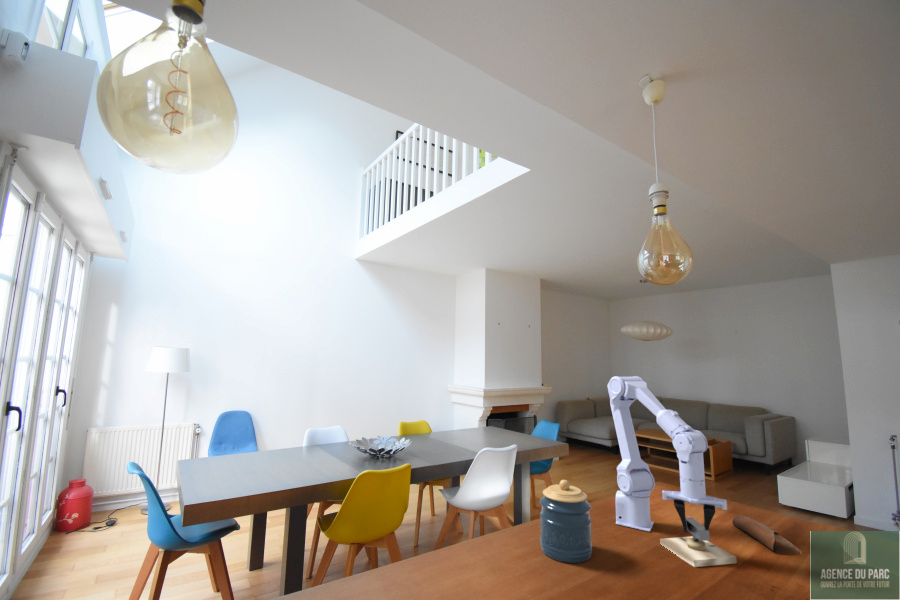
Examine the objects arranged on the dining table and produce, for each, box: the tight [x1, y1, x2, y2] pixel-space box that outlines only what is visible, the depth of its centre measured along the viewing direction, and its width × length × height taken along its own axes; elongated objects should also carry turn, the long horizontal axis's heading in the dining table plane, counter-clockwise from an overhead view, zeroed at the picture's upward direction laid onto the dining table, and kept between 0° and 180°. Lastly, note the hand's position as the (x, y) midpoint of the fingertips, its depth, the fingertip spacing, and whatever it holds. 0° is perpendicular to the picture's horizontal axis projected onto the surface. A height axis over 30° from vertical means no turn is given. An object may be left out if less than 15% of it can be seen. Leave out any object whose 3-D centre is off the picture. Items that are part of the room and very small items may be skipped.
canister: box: [539, 479, 593, 564], centre depth 107 cm, size 13×13×18 cm
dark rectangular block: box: [681, 515, 711, 542], centre depth 107 cm, size 2×9×4 cm, turn 175°
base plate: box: [659, 535, 738, 568], centre depth 106 cm, size 12×12×3 cm
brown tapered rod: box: [732, 515, 803, 555], centre depth 115 cm, size 18×7×7 cm
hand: (695, 533), depth 107 cm, fingers closed on dark rectangular block, 4 cm apart
